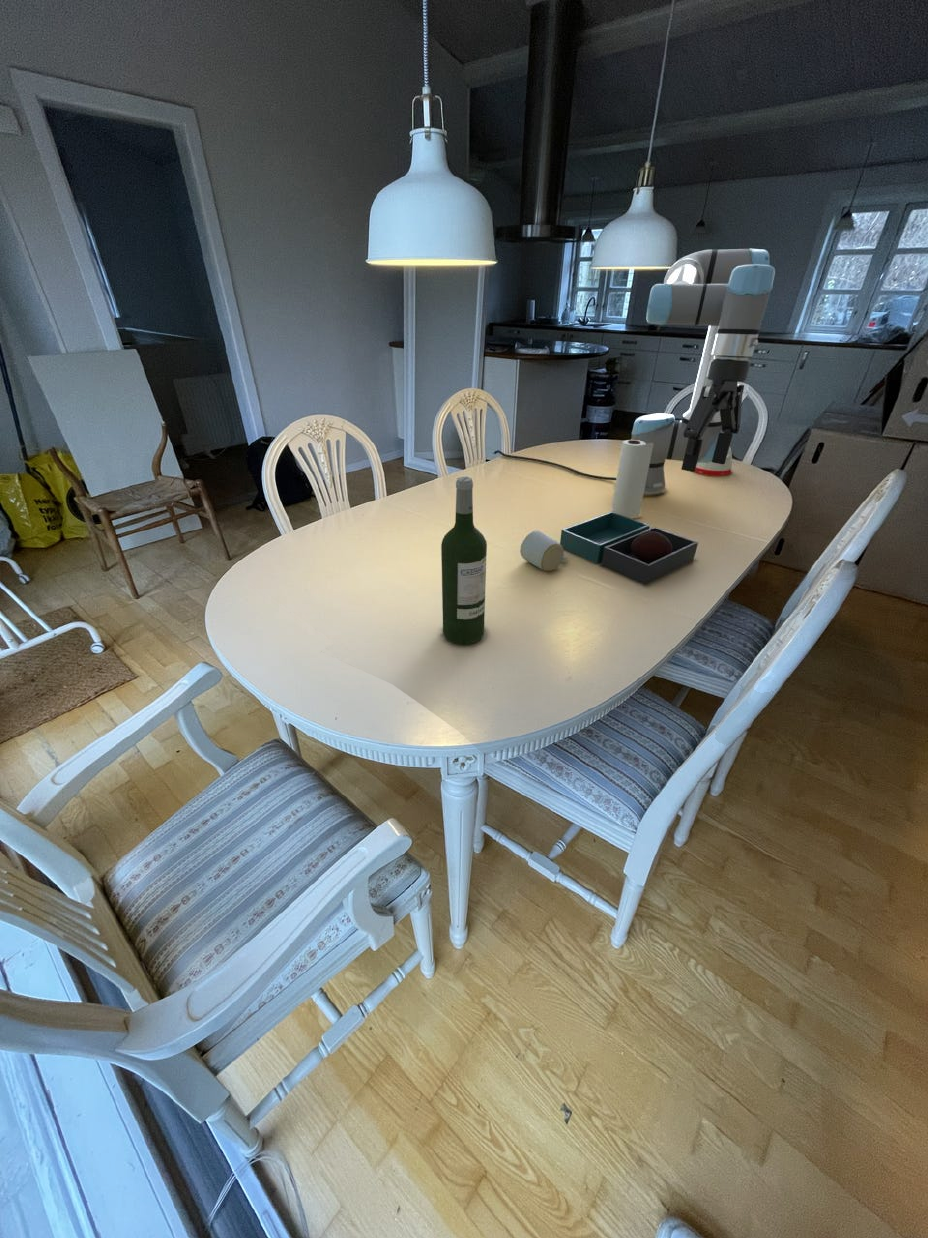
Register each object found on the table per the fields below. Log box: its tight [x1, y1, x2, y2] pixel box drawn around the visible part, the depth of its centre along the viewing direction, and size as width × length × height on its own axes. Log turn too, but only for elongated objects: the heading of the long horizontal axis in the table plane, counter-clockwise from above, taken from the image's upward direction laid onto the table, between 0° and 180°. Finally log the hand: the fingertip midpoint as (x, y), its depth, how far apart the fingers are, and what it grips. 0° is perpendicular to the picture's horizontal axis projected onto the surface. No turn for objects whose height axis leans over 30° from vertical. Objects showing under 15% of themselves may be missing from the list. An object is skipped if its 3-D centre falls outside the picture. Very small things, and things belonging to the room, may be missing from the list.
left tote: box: [559, 511, 651, 565], centre depth 130 cm, size 12×20×5 cm, turn 129°
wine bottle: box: [440, 476, 488, 646], centre depth 89 cm, size 8×8×30 cm
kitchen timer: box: [694, 445, 733, 477], centre depth 184 cm, size 14×14×15 cm
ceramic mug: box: [519, 530, 568, 572], centre depth 120 cm, size 11×8×8 cm
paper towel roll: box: [610, 439, 654, 519], centre depth 142 cm, size 7×6×21 cm
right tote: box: [600, 526, 699, 586], centre depth 122 cm, size 12×20×5 cm, turn 129°
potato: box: [631, 531, 672, 563], centre depth 121 cm, size 8×9×8 cm
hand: (703, 466), depth 112 cm, fingers open, 13 cm apart
